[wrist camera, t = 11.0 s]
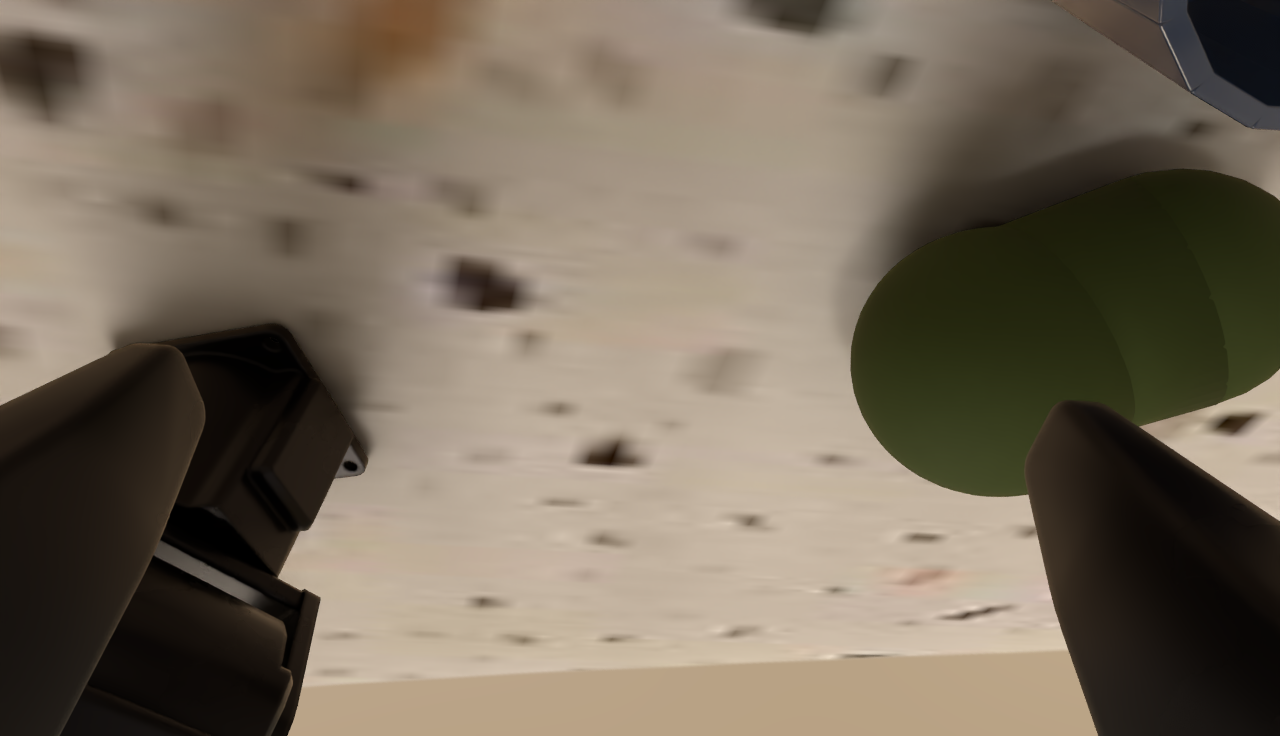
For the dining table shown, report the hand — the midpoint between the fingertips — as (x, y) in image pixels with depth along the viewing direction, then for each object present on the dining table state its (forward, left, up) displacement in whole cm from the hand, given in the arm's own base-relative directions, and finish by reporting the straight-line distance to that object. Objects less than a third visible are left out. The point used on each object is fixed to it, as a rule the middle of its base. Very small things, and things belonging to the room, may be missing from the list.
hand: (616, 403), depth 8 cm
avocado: (+9, -8, -13) cm, 18 cm away
